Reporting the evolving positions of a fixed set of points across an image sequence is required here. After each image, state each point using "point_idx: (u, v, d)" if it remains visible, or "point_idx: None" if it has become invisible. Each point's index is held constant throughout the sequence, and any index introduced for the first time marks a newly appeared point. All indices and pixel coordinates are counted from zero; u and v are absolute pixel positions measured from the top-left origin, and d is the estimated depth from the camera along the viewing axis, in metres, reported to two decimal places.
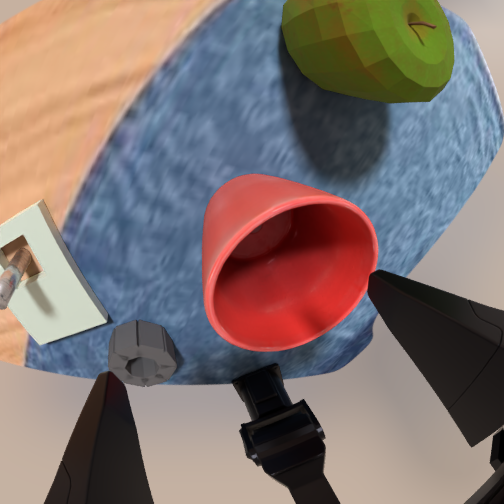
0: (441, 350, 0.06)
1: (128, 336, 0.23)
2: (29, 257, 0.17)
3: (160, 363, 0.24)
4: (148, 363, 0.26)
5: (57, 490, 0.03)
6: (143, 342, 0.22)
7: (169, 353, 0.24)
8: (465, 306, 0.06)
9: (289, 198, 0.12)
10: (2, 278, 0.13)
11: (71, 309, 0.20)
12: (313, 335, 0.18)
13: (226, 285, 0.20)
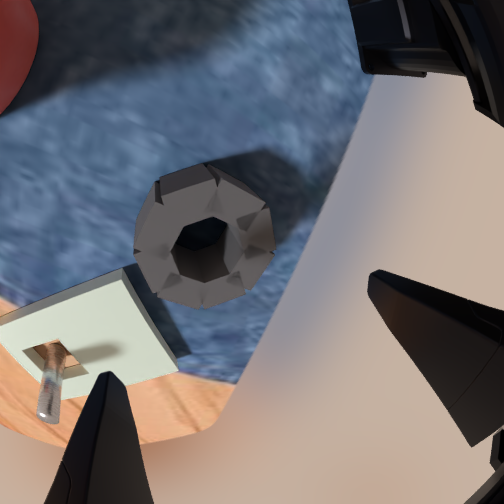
0: (441, 350, 0.06)
1: None
2: (52, 347, 0.15)
3: (199, 214, 0.12)
4: (231, 225, 0.14)
5: (56, 490, 0.03)
6: (136, 238, 0.11)
7: (175, 189, 0.11)
8: (465, 306, 0.06)
9: None
10: None
11: (102, 322, 0.15)
12: None
13: None
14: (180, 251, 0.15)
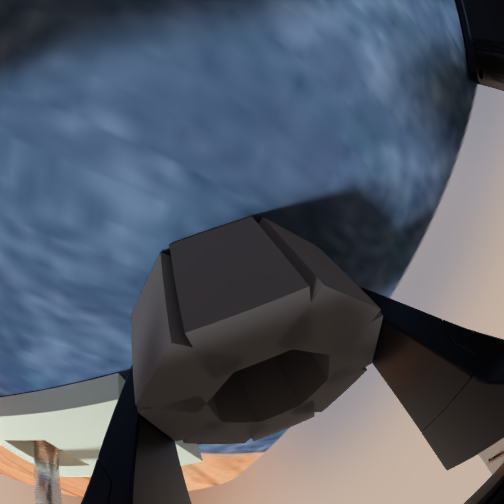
0: (411, 373, 0.06)
1: None
2: None
3: (267, 350, 0.05)
4: None
5: (92, 492, 0.03)
6: (137, 386, 0.05)
7: (216, 312, 0.05)
8: (438, 328, 0.05)
9: None
10: None
11: (100, 434, 0.09)
12: None
13: None
14: None
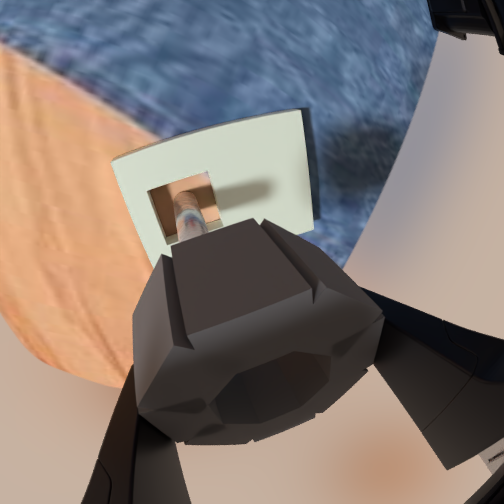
0: (411, 373, 0.06)
1: None
2: (185, 192, 0.17)
3: (269, 352, 0.05)
4: None
5: (93, 491, 0.03)
6: (139, 389, 0.05)
7: (218, 314, 0.05)
8: (438, 328, 0.05)
9: None
10: (177, 232, 0.14)
11: (268, 152, 0.17)
12: None
13: None
14: None
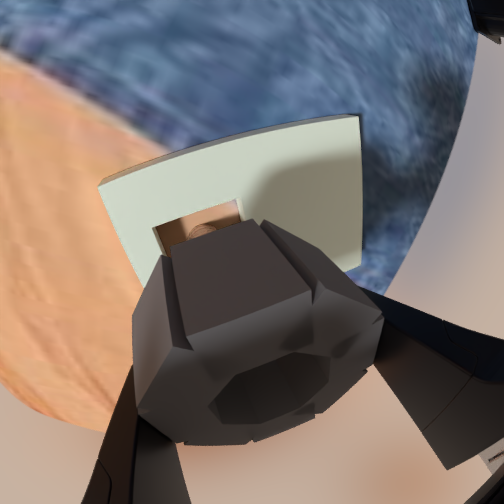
0: (411, 373, 0.06)
1: None
2: (205, 227, 0.13)
3: (268, 353, 0.05)
4: None
5: (92, 492, 0.03)
6: (138, 389, 0.05)
7: (217, 315, 0.05)
8: (438, 328, 0.05)
9: None
10: None
11: (319, 172, 0.12)
12: None
13: None
14: None
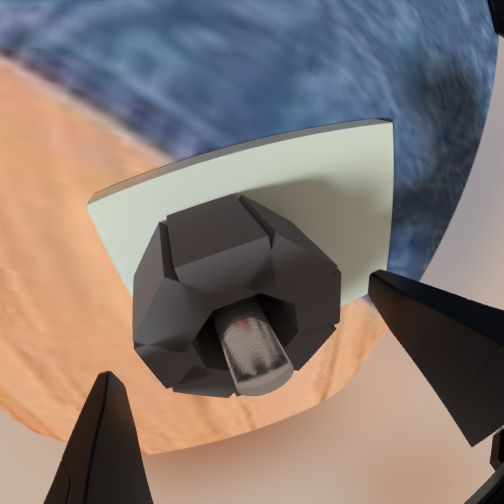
0: (441, 350, 0.06)
1: None
2: None
3: (239, 291, 0.07)
4: None
5: (56, 490, 0.03)
6: (135, 325, 0.07)
7: (198, 254, 0.06)
8: (465, 306, 0.06)
9: None
10: (222, 342, 0.08)
11: (349, 186, 0.11)
12: None
13: None
14: None
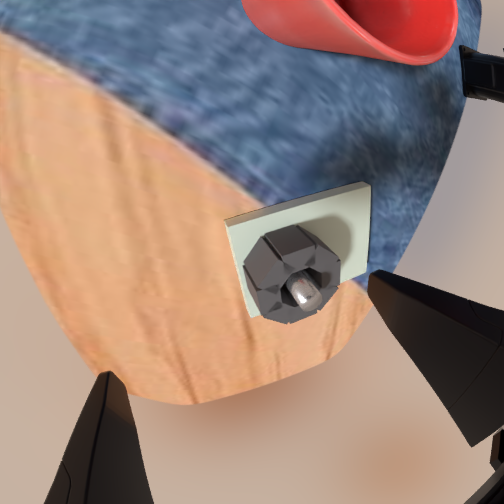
0: (441, 350, 0.06)
1: (252, 289, 0.20)
2: None
3: (302, 266, 0.18)
4: (310, 267, 0.21)
5: (57, 490, 0.03)
6: (258, 281, 0.18)
7: (289, 251, 0.18)
8: (465, 306, 0.06)
9: None
10: (291, 289, 0.19)
11: (346, 219, 0.22)
12: None
13: None
14: None
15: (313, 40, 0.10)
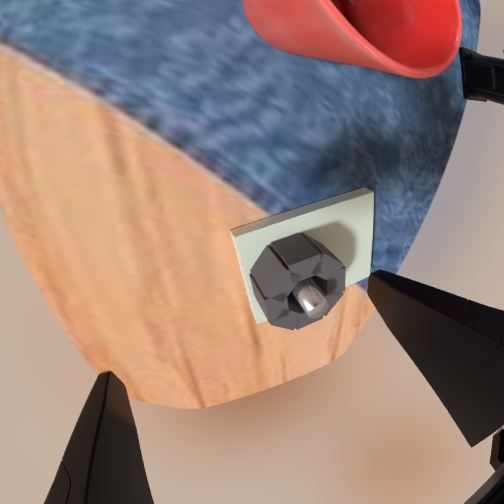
0: (441, 350, 0.06)
1: (259, 297, 0.20)
2: None
3: (308, 274, 0.18)
4: (316, 274, 0.21)
5: (57, 490, 0.03)
6: (265, 290, 0.18)
7: (296, 260, 0.18)
8: (465, 306, 0.06)
9: None
10: (298, 296, 0.19)
11: (349, 225, 0.22)
12: None
13: None
14: None
15: (319, 52, 0.10)
